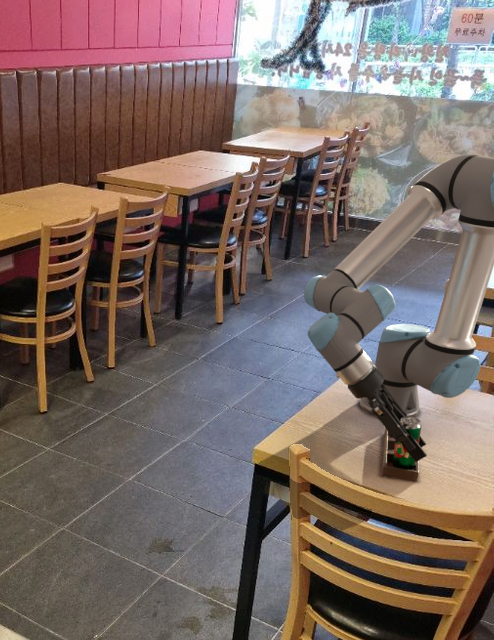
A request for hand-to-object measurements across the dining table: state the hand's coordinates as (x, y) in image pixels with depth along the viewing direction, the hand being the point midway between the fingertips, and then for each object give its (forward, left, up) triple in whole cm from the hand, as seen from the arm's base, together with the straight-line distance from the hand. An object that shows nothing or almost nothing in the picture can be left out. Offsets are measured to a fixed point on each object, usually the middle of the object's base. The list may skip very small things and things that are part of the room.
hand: (420, 452), depth 169 cm
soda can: (0, -3, -5) cm, 6 cm away
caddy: (-7, -4, -6) cm, 10 cm away
